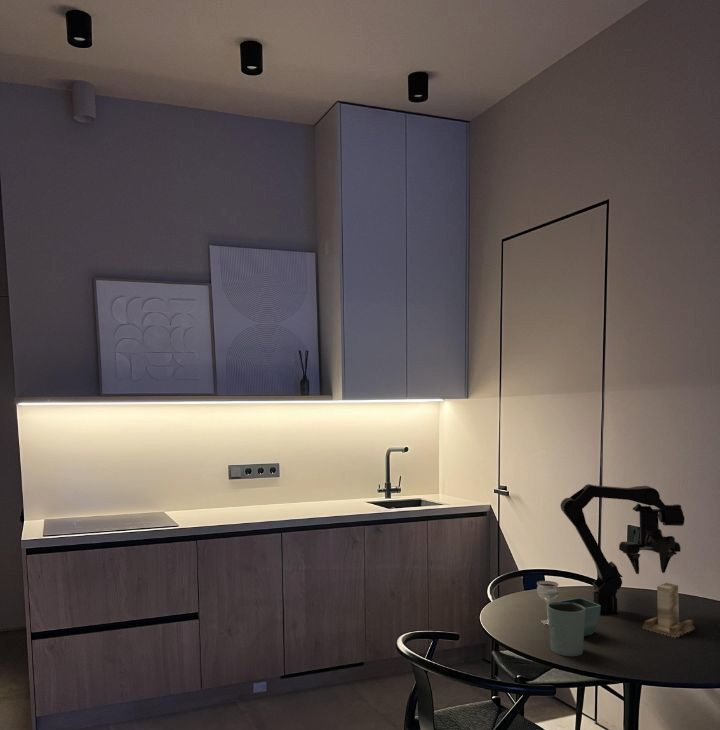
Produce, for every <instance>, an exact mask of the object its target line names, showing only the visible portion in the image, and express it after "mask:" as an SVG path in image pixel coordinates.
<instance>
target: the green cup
mask: <svg viewBox="0 0 720 730" xmlns="http://www.w3.org/2000/svg"><path fill="white" fill-rule="evenodd" d="M547 607H548V616H547V618H548V617H549V625H548V626H549V627H548V628H549V630H548V631H549V638H550V649H551V651H552V653H554V654H557V655H559V656H564V657H578V656H581V655H583V652H584V638H585V636H584V620H585V610H586V609H585V607H584V606H582V605H579V604H576V603H570V602H559V601H551V602H549V604H548V605H547V604H546V608H547Z"/></svg>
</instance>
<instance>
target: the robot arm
mask: <svg viewBox="0 0 720 730" xmlns="http://www.w3.org/2000/svg"><path fill="white" fill-rule="evenodd" d="M594 498H598V499H599V498H601V499H610V500H611V499H612V500H622V501H623V500H625V501H631V502H635V503H636V505H635V506H634V507H632V511H634V512H635V513H636V512H638V513H639V526H637V531H639V538H638V539H637V543H636V542H633V541H620V543H619V545H618V549H619V551H620V552H622V553H623V554H626V556H627V558H628V559H629V561H630V563H631V565H632V568H633V570H634V572H635V574H636V575H639V574H640V560H639V559H640V557H641V554H640V551H646V550H653V551H654V552H655V553H658V555H659V563H660V564H659V565H660V570H661V573H662V574H665V573H666V570H667V567H668V564H669V562H670V561H671V558H672V557H674V555H677V553H679V552H681V550H682V549H681V545H680V543H679V542H678V541H676V538H675V537H674V536H672V535H667V536H663V534H662V529H660V528H659V523H662V525H663V526H665V527H666V526H668V527H669V526H672V527H673V526H675V527H677V526H678V527H683V526H684V524H685V516H684V512H683V509H682V505H681V504H676V503H675V504H665V503H664V501H663V500H662V499H661V497H660V493H659V491H658V490H657V489H656V488H653V487H651V486H649V485H638V486H631V487H620V486H619V487H618V486H617V487H616V486H608V485H607V486H605V485H595V484H594V485H593V484H589V483H588V484H586V485H584V486H583V487H582V488H581V489H580V490H578V491H576V492H575V493H574V494H572V495H571V496H570V497H565V498H564V499H562V500H561V503H560V505H559V506H560V510H561V511H562V513H563V514H564V515H565V516H566V518H567V519H568V520H569V521H570V523H571V524H572V525H573V526H574V528H575V529H576V531H577V534H578V535H579V536H580V539H581V540H582V542H583V544H584V546H585V548H586V549H587V551H588V553H589V555H590V557H591V558H592V561H593V562H594V564H595V568H596V569H595V570H596V572H597V575H598V577H597V578H596V579H595V580H594V581H593V582H592V585H593V588H594V590H595V591H593V603H596V604H598V605H600V606H601V608H600V616H606V615H607V616H608V615H610V616H611V615H619V614H620V612H619V611H618V610H619V608H618V597H617V592H618V590H620V589H621V587H622V585H623V580H622V578H623V575H622V574H621V573H620V572H619V569H618V566H617V565H616V564H615V563H614V562H613V561H610V562H609V561H608V560H607V558H606V556H605V555H604V552H603V551H602V549H601V548H600V545H599V544H598V542H597V540H596V538H595V536H594V535H593V532H592V531H591V530H590V527H589V526H588V524H587V520H586V517H585V513H584V511H583V509H585V507H587V505H588V504H589V503H590V502H591V501H592V500H593V499H594ZM651 506H653V507H655V508H652V507H651Z"/></svg>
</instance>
